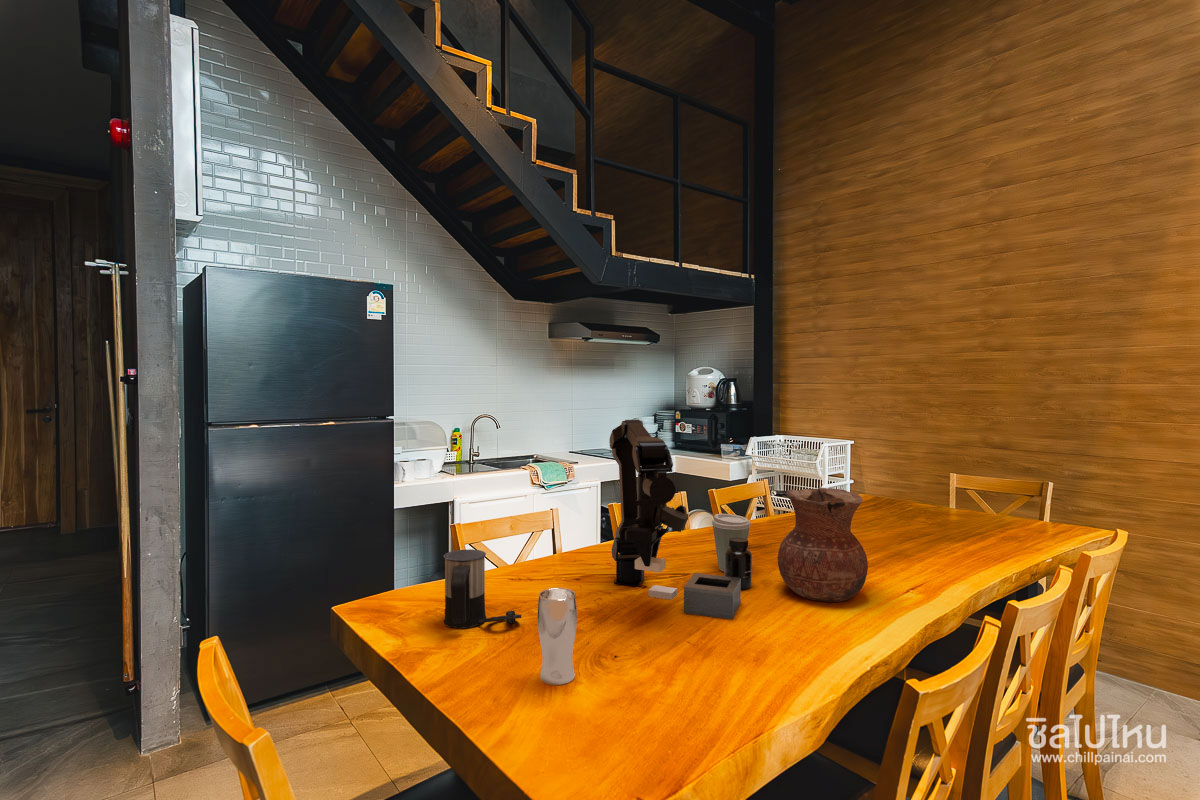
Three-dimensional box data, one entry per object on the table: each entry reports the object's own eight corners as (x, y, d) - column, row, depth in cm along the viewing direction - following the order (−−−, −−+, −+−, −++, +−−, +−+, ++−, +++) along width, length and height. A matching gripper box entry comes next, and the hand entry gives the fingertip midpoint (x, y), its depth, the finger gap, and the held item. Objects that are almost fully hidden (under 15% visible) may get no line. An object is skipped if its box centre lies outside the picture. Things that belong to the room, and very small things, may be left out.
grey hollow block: (683, 612, 144) (683, 586, 144) (694, 597, 154) (694, 572, 154) (732, 619, 140) (732, 592, 140) (740, 603, 150) (740, 578, 150)
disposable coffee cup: (747, 564, 181) (748, 512, 181) (753, 576, 171) (753, 521, 170) (710, 563, 182) (710, 511, 182) (713, 575, 172) (713, 520, 171)
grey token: (648, 598, 155) (648, 589, 155) (654, 593, 159) (654, 585, 159) (672, 601, 153) (672, 593, 152) (677, 596, 156) (677, 588, 156)
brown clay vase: (876, 612, 145) (877, 502, 144) (780, 605, 149) (781, 499, 148) (857, 581, 166) (858, 486, 165) (774, 576, 170) (775, 483, 170)
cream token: (634, 568, 145) (634, 560, 144) (641, 564, 148) (641, 555, 148) (659, 572, 142) (659, 563, 142) (665, 567, 145) (665, 559, 145)
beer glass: (538, 669, 116) (537, 587, 116) (576, 667, 117) (575, 586, 116) (537, 687, 109) (537, 601, 109) (578, 685, 110) (577, 599, 109)
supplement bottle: (752, 591, 159) (752, 543, 158) (724, 589, 160) (724, 542, 160) (751, 582, 166) (751, 536, 165) (724, 581, 167) (724, 535, 166)
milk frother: (441, 616, 142) (440, 550, 142) (510, 607, 148) (510, 544, 147) (449, 640, 129) (448, 568, 128) (525, 630, 134) (525, 560, 134)
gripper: (674, 505, 133) (674, 579, 133) (694, 491, 150) (694, 556, 151) (624, 501, 137) (624, 573, 137) (649, 488, 154) (649, 552, 155)
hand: (650, 563), depth 145 cm, fingers closed on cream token, 4 cm apart
